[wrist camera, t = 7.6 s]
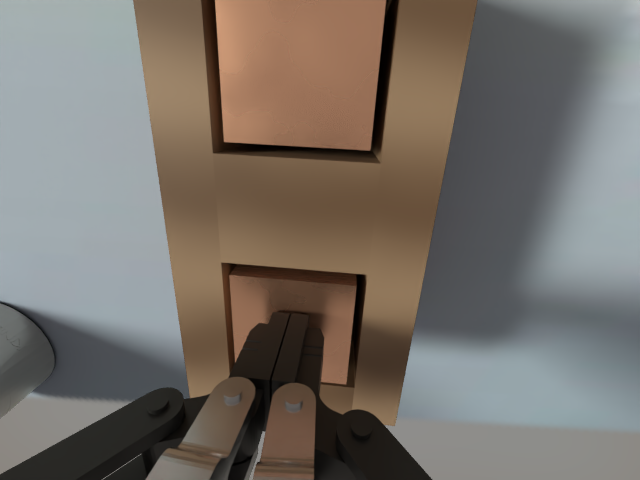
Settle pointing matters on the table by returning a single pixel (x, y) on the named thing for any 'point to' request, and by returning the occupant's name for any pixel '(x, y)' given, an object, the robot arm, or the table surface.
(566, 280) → the table surface
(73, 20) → the table surface
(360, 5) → the peg near
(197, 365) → the walnut block
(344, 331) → the peg far
